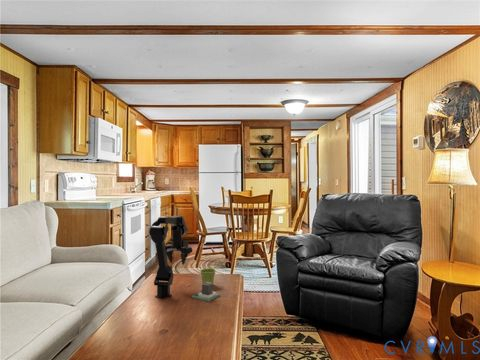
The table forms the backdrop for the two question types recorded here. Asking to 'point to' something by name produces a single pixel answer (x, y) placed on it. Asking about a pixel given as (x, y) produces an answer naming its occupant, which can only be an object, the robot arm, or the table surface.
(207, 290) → the plug
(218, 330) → the table surface
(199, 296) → the board
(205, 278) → the plant pot
